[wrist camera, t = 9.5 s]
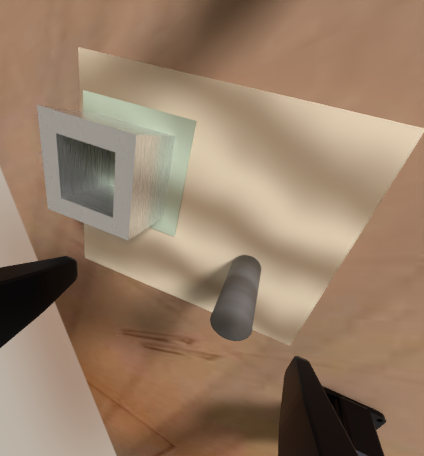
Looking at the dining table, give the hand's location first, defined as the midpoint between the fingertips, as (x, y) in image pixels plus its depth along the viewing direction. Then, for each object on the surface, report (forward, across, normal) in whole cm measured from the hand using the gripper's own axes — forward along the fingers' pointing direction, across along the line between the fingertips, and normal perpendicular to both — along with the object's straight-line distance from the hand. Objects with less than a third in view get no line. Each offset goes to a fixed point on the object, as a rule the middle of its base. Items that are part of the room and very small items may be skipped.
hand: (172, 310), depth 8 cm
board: (+11, +3, 0) cm, 11 cm away
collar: (+9, +9, -2) cm, 13 cm away
